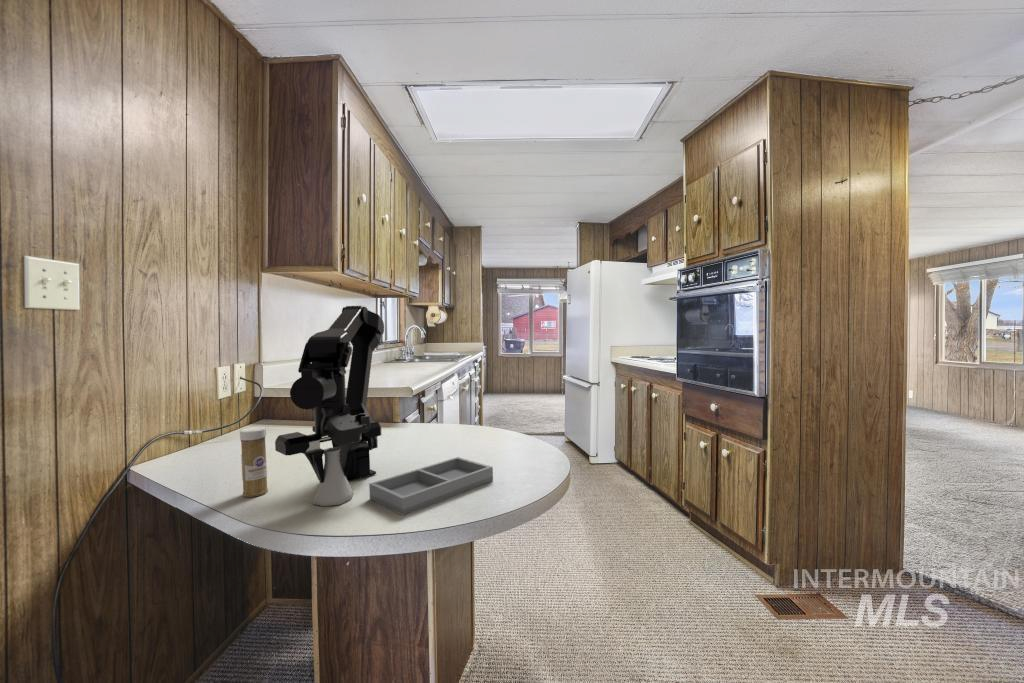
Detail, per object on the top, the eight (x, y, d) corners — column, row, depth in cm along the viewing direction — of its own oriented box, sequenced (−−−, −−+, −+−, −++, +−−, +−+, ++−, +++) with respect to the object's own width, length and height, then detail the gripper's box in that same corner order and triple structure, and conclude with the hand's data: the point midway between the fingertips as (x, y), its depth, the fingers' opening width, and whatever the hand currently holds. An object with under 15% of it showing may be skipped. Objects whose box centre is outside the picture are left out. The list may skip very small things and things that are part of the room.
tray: (369, 498, 85) (369, 483, 85) (458, 469, 102) (457, 456, 102) (403, 515, 78) (402, 498, 77) (492, 480, 94) (492, 466, 94)
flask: (359, 493, 89) (358, 444, 88) (342, 507, 82) (340, 454, 81) (325, 492, 89) (323, 444, 89) (305, 507, 82) (303, 454, 82)
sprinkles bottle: (254, 498, 87) (251, 431, 86) (237, 496, 88) (234, 430, 88) (273, 490, 91) (270, 426, 91) (256, 488, 93) (253, 425, 92)
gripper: (296, 412, 73) (300, 505, 73) (394, 397, 86) (397, 475, 87) (272, 405, 80) (275, 489, 81) (366, 392, 94) (368, 464, 94)
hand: (333, 479), depth 85 cm, fingers open, 4 cm apart
